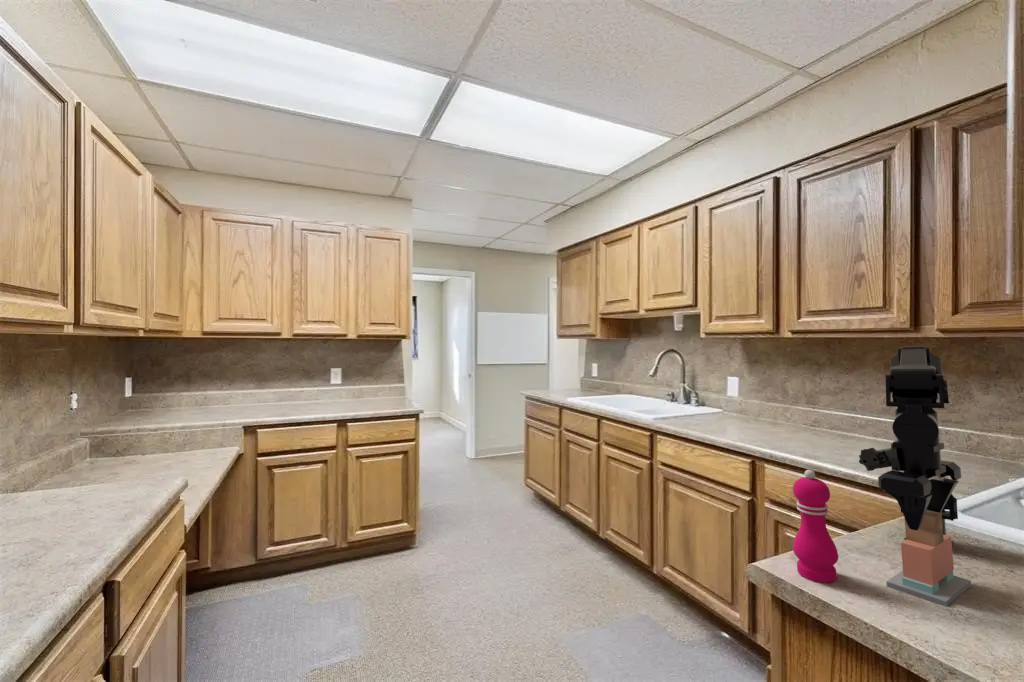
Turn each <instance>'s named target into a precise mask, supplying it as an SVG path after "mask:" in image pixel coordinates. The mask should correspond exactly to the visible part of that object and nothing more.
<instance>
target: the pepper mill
mask: <svg viewBox="0 0 1024 682" xmlns="http://www.w3.org/2000/svg"><path fill="white" fill-rule="evenodd" d="M792 493H793V495H794V497H795V499H797V502H796V505H797V506H796V509H797V511H798V512H799V513H800V514H799V515H800V525H799V528H798V531H797V532H796V535H795V537H794V539H793V542H792V543H793V544H792V551H793V554H794V555H795V556H796V558H797V559H798V560H796V570H797V573H798V574H799V575H800V576H801V577H803V578H805V579H808V581H809V580H810V581H812V582H818V583H826V584H829V583H833V582H835V581H836V580H837V568H836V567H835V566H834V565H835V564H837V562H838V561H839V554H838V549H837V547H836V544H835V542H834V541H833V539H832V537H831V535H830V534H829V531H828V528H827V524H826V517H827V516H826V515H828V513H829V511H828V509H829V506H828V504H827V503H828V501H829V500H830V498H831V491H830V489H829V487H828V485H827V484H826V483H825V482H824V481H823V480H821V479H818V478H816V472H815V471H814V470H811V469H806V470H805V471H804V477H800V478H798V479H796V480H795V481H794V483H793V485H792Z"/></svg>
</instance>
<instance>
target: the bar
mask: <svg viewBox="0 0 1024 682" xmlns="http://www.w3.org/2000/svg"><path fill="white" fill-rule="evenodd" d="M943 539H944V541H943V542H942V543H940V544H939V545H938V546H936V547H933V546H930V545H926V544H922V543H918V542H914V541H910V540H907V539H906V540H904V539H903V541H901V542H900V547H901V559H902V560H901V561H902V564H901V565H902V571H903V577H906V578H910V579H913V580H916V581H919V582H922V583H925V584H928V585H931V586H934V585H935V584H936V583H937V582H939V581H940V580H941V579H943V578H944V577H945V576H946V575H948V574H949V573H950V572H951V571H953V572H954V570H955V568H954V566H955V565H954V554H953V544H952V541H953V540H952V535H947V534H946V535H943Z"/></svg>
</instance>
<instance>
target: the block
mask: <svg viewBox="0 0 1024 682" xmlns="http://www.w3.org/2000/svg"><path fill="white" fill-rule="evenodd" d="M904 526H905V527H904V530H905V537H906V539H907V540H910V541H914V542H918V543H922V544H926V545H930V546H933V547H936V546H938V545H939V544H940V543H942V542H943V541H944V539H943V526H942V513H939V512H934V511H929V510H926V512H925V514H924V517H923V520H922V522H921V524H920V527H919V529H918V530H917V531H916V530H912V529H910V528H909V526H908V524H907V522H906V519H905V518H904Z"/></svg>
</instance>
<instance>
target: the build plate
mask: <svg viewBox="0 0 1024 682" xmlns="http://www.w3.org/2000/svg"><path fill="white" fill-rule="evenodd" d="M971 585H972V581H971V580H970V579H968V578H964V577H960V576H957V575H954V570H953V571H951V572H950V573H949V574H948V575H946V576H945V577H944V578H943V579H941V580H940V581H939V582H937V583H936V584H935V585H934V586H931V585H928V584H925V583H922V582H919V581H916V580H913V579H910V578H906V577H903V570H901V571H900V572H898V573H897V574H896V575H894V576H892V577H891V578H889V579H888V580H887V581H886V587H888V588H891V589H894V590H898V591H901V592H903V593H906V594H909V595H910V596H915V597H917V598H921V599H923V600H926V601H929V602H932V603H936V604H938V605H941V606H943V607H948V606H949V605H950V604H952V602H954V601H955V600H956V599H957V598H958V597H959V596H960V595H962V594H964V592H965V591H966V590H967V589H969V587H970V586H971Z"/></svg>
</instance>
